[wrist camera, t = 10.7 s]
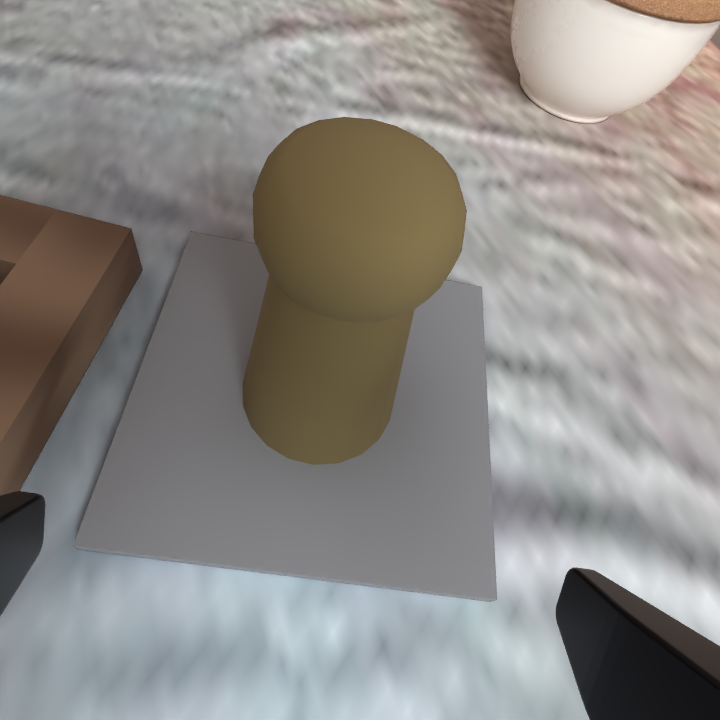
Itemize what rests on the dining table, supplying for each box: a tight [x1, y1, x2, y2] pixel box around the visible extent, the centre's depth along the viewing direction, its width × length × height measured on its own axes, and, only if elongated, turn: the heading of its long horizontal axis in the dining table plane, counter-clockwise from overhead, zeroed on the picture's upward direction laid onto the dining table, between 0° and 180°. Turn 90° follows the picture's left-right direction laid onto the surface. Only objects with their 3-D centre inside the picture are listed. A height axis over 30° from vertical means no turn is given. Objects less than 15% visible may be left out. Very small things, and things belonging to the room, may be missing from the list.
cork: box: [243, 117, 467, 465], centre depth 16 cm, size 6×6×11 cm
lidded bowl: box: [511, 0, 720, 124], centre depth 33 cm, size 13×13×11 cm
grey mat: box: [73, 231, 497, 602], centre depth 21 cm, size 14×14×1 cm
